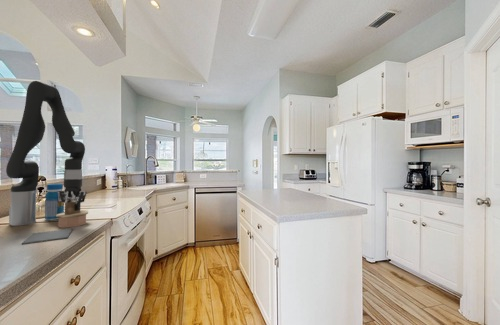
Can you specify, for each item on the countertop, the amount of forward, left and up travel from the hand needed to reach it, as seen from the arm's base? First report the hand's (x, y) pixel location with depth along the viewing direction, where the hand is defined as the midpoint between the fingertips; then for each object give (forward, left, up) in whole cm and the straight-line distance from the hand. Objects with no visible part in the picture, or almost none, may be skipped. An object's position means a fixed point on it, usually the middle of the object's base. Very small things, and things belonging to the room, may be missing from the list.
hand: (72, 210), depth 114 cm
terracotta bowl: (0, 0, -7) cm, 7 cm away
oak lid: (0, 0, -2) cm, 2 cm away
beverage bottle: (-20, +9, -8) cm, 23 cm away
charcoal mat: (+7, -18, -7) cm, 21 cm away
